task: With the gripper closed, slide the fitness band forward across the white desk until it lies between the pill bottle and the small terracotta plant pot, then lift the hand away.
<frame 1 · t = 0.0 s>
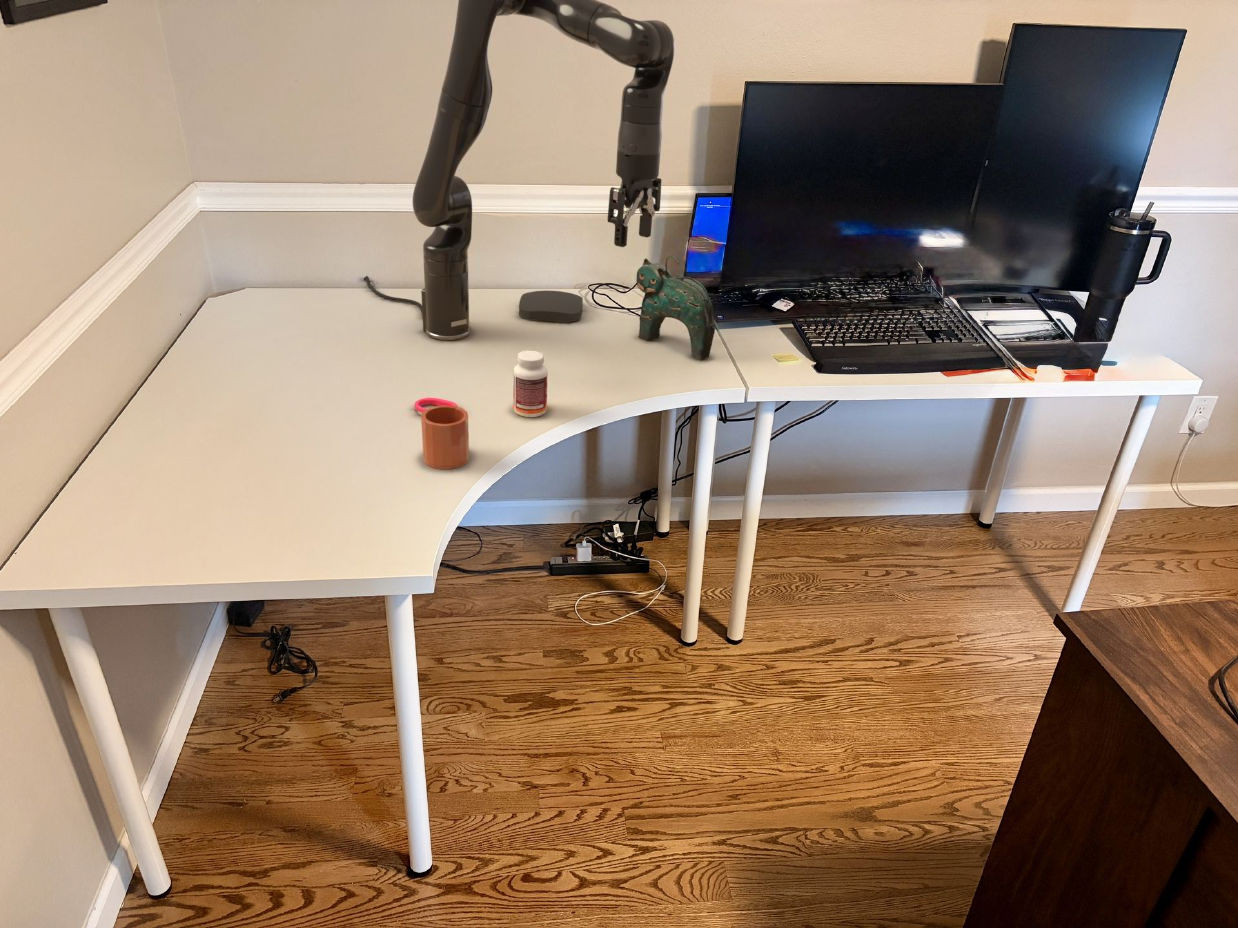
hand: (632, 241, 165), 29 cm above the table, tool pointing down, fingers open, 8 cm apart
pill bottle: (530, 411, 168), on the table
fitness band: (436, 412, 165), on the table
ceramic cat: (672, 347, 200), on the table
media streaming box: (551, 312, 214), on the table
clay pot: (446, 458, 150), on the table
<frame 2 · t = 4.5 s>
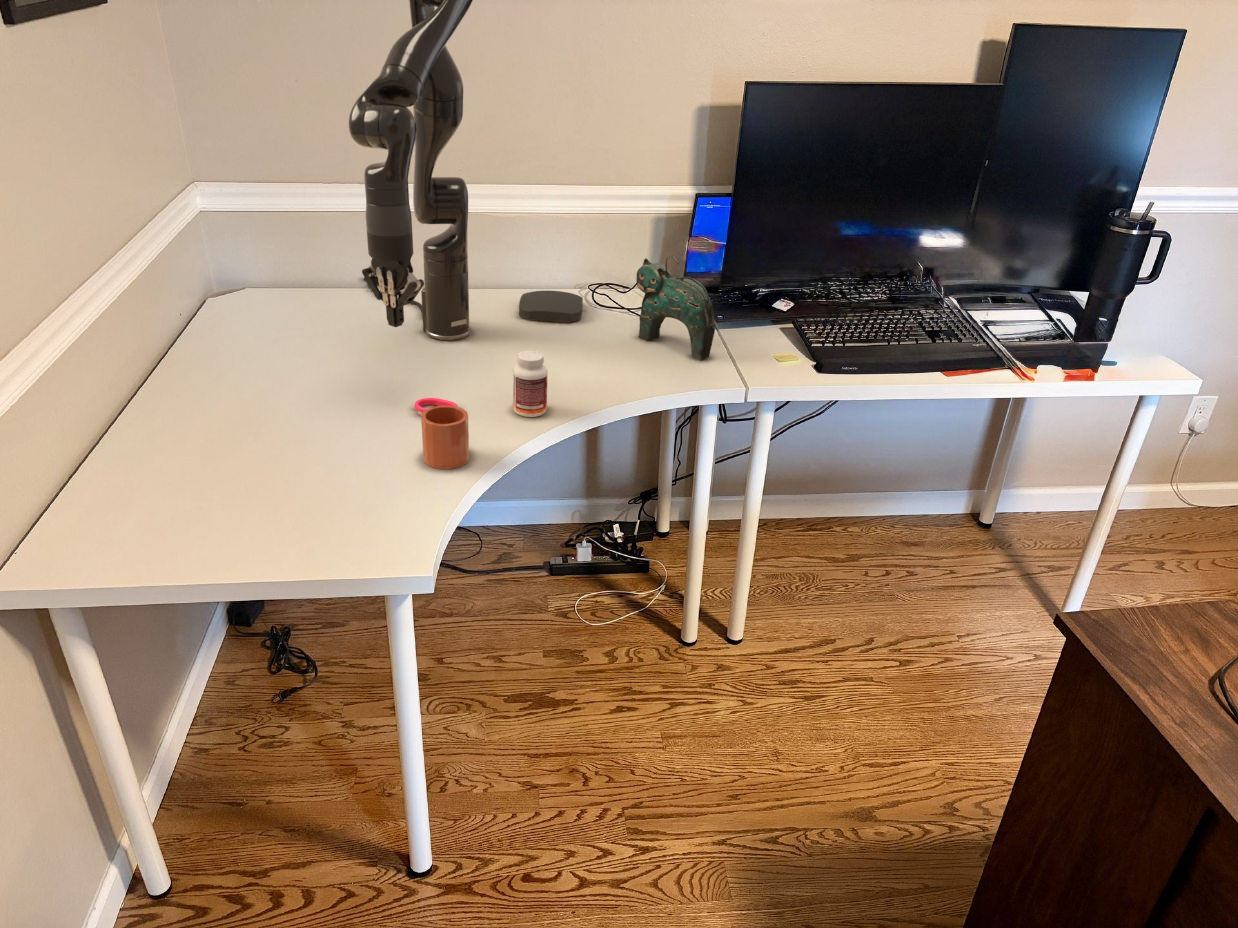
hand: (395, 325, 162), 14 cm above the table, tool pointing down, fingers closed
nothing on the table moved.
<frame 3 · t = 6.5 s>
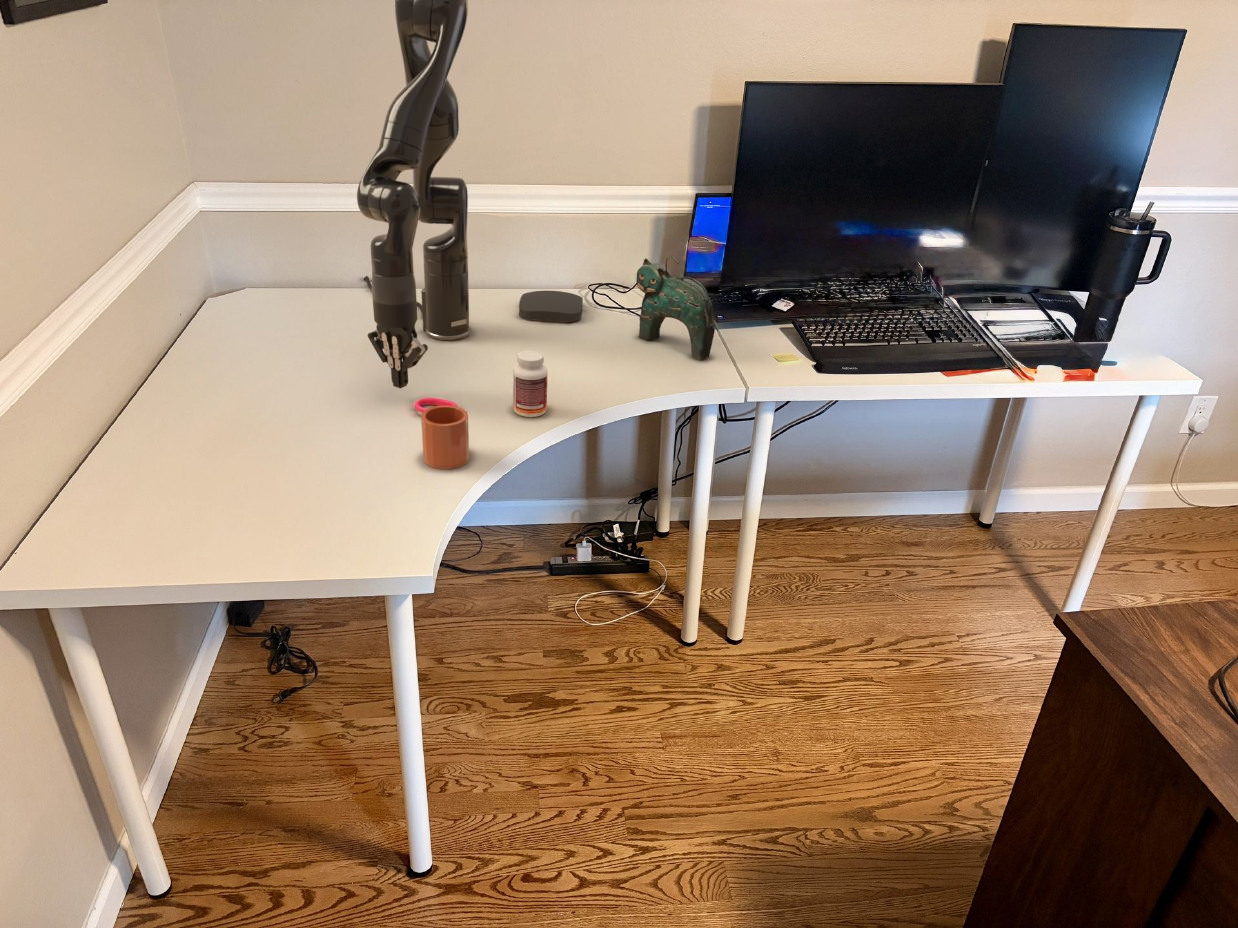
hand: (400, 386, 167), 3 cm above the table, tool pointing down, fingers closed
nothing on the table moved.
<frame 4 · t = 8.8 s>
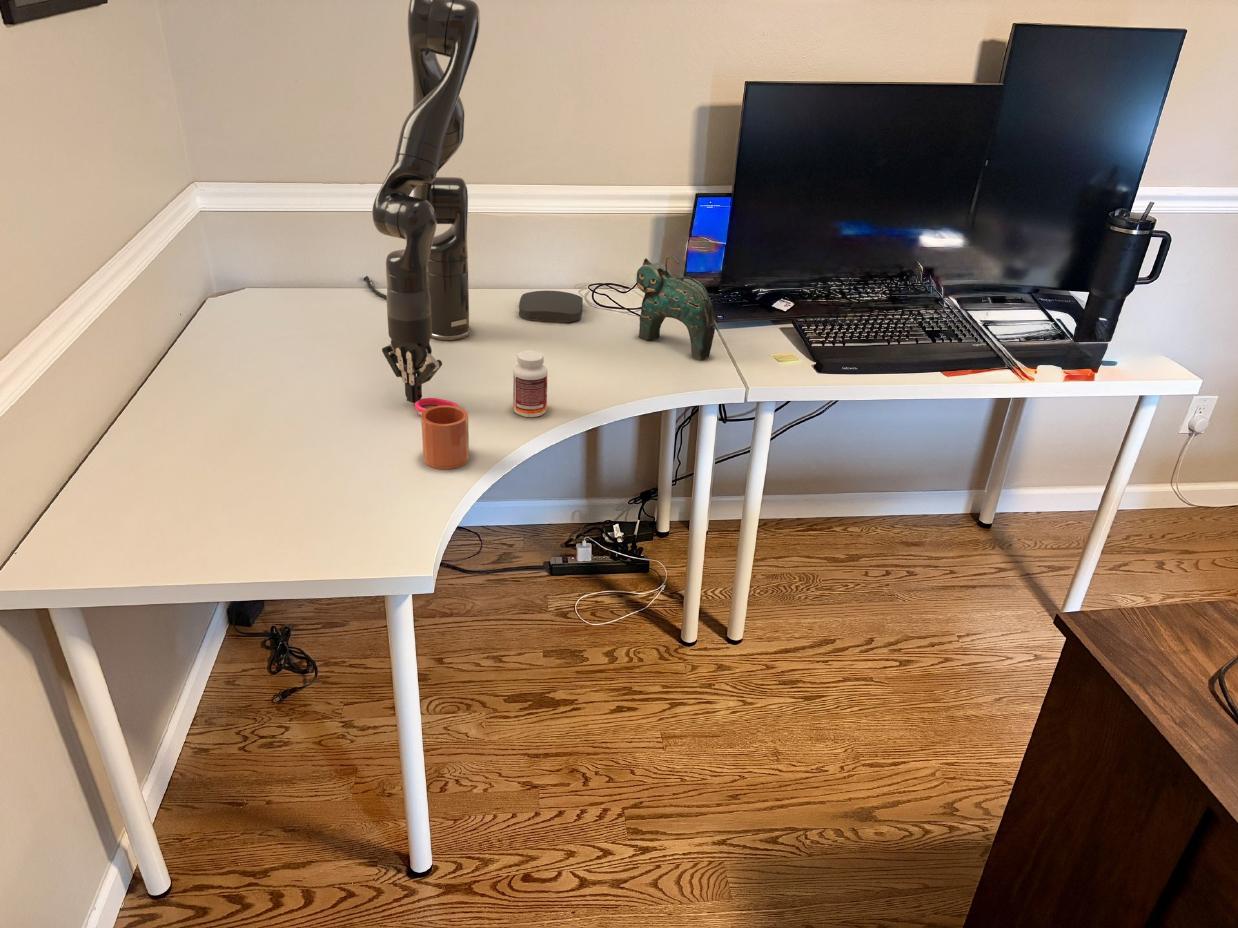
hand: (413, 400, 167), 1 cm above the table, tool pointing down, fingers closed
fitness band: (436, 412, 165), on the table, touching gripper
everything else where it was.
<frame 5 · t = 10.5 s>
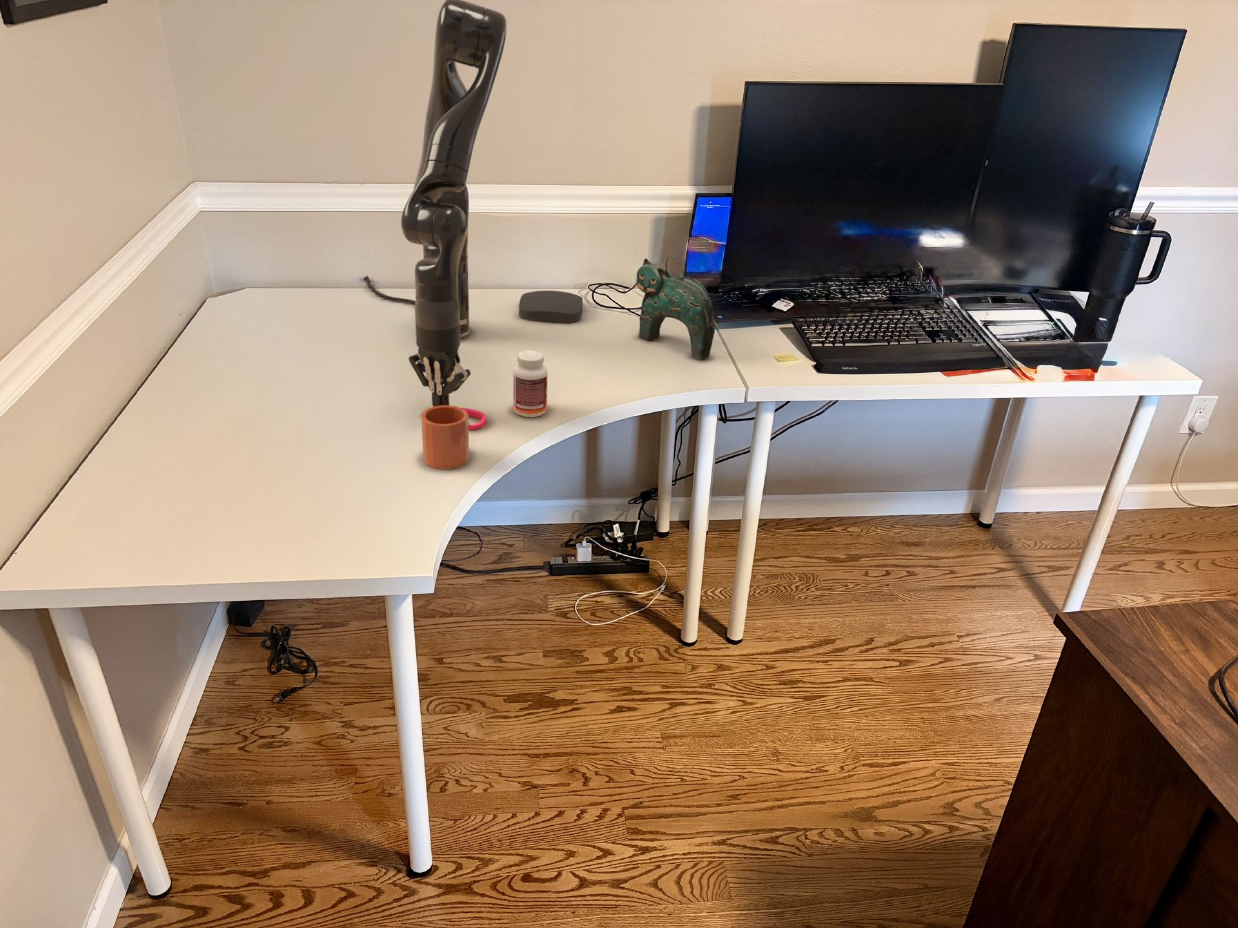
hand: (440, 410, 164), 1 cm above the table, tool pointing down, fingers closed
fitness band: (464, 422, 162), on the table, touching gripper
everything else where it was.
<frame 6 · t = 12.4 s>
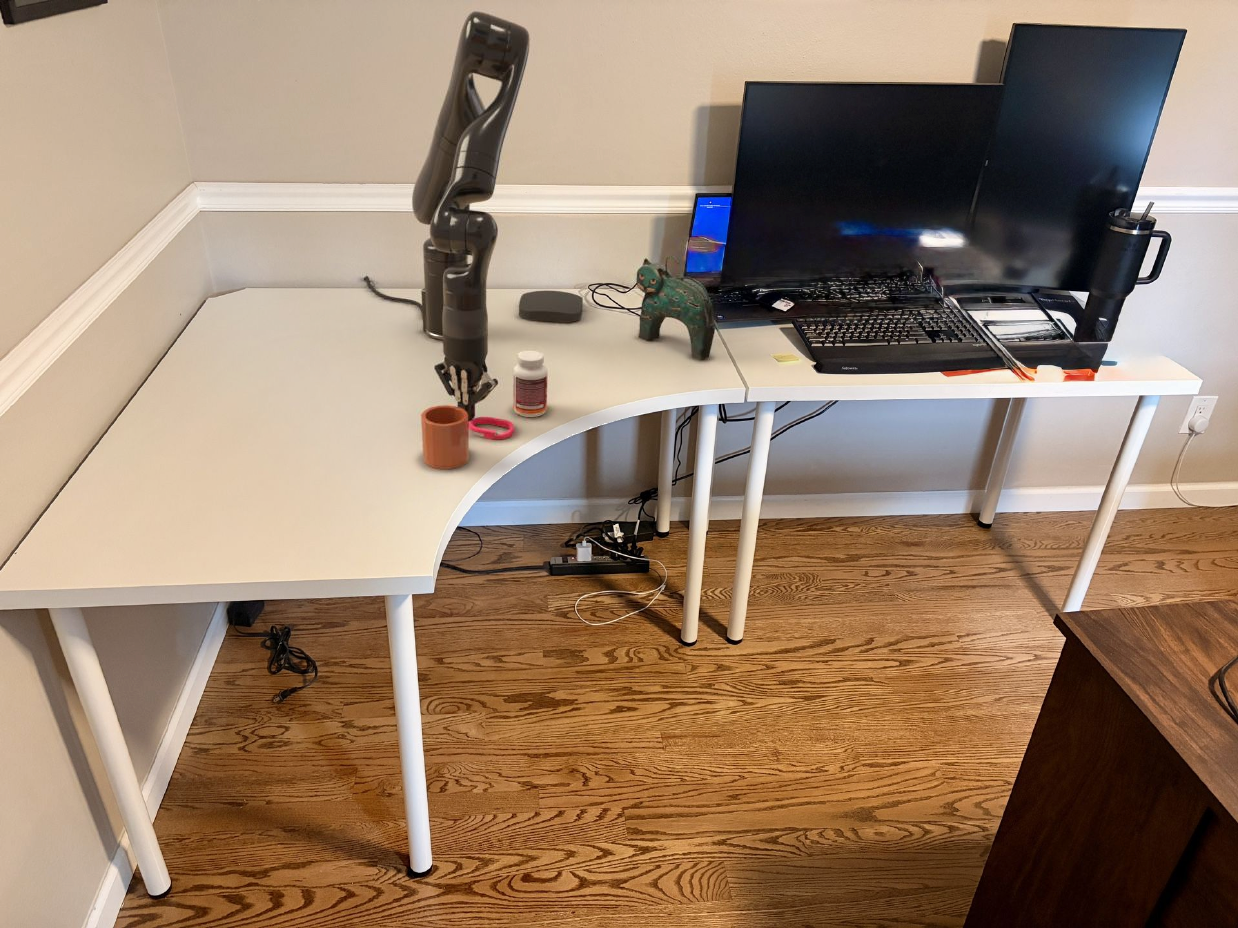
hand: (466, 419, 161), 1 cm above the table, tool pointing down, fingers closed
fitness band: (491, 432, 160), on the table, touching gripper
everything else where it was.
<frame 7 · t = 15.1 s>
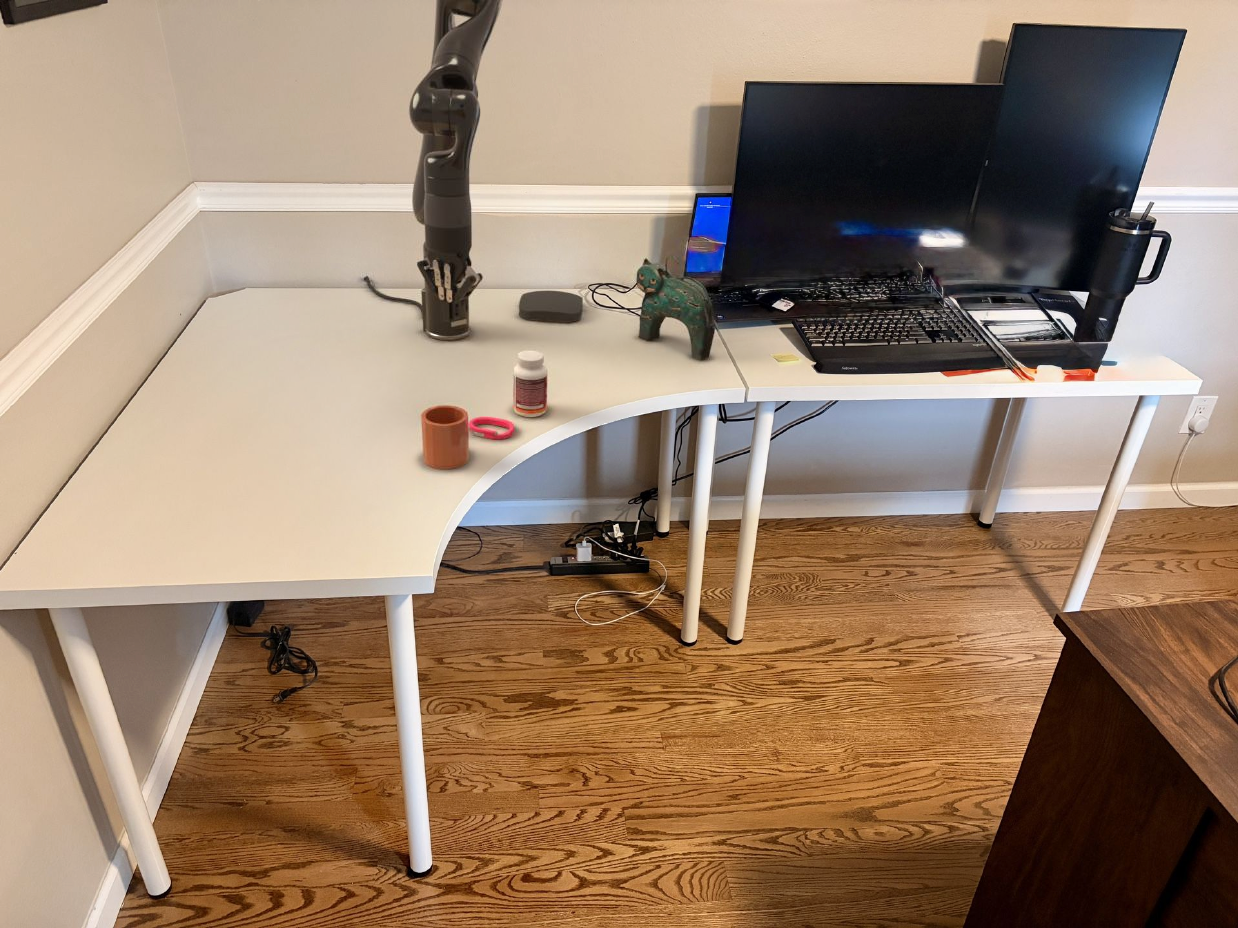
hand: (450, 320, 155), 18 cm above the table, tool pointing down, fingers closed
fitness band: (491, 432, 160), on the table
everything else where it was.
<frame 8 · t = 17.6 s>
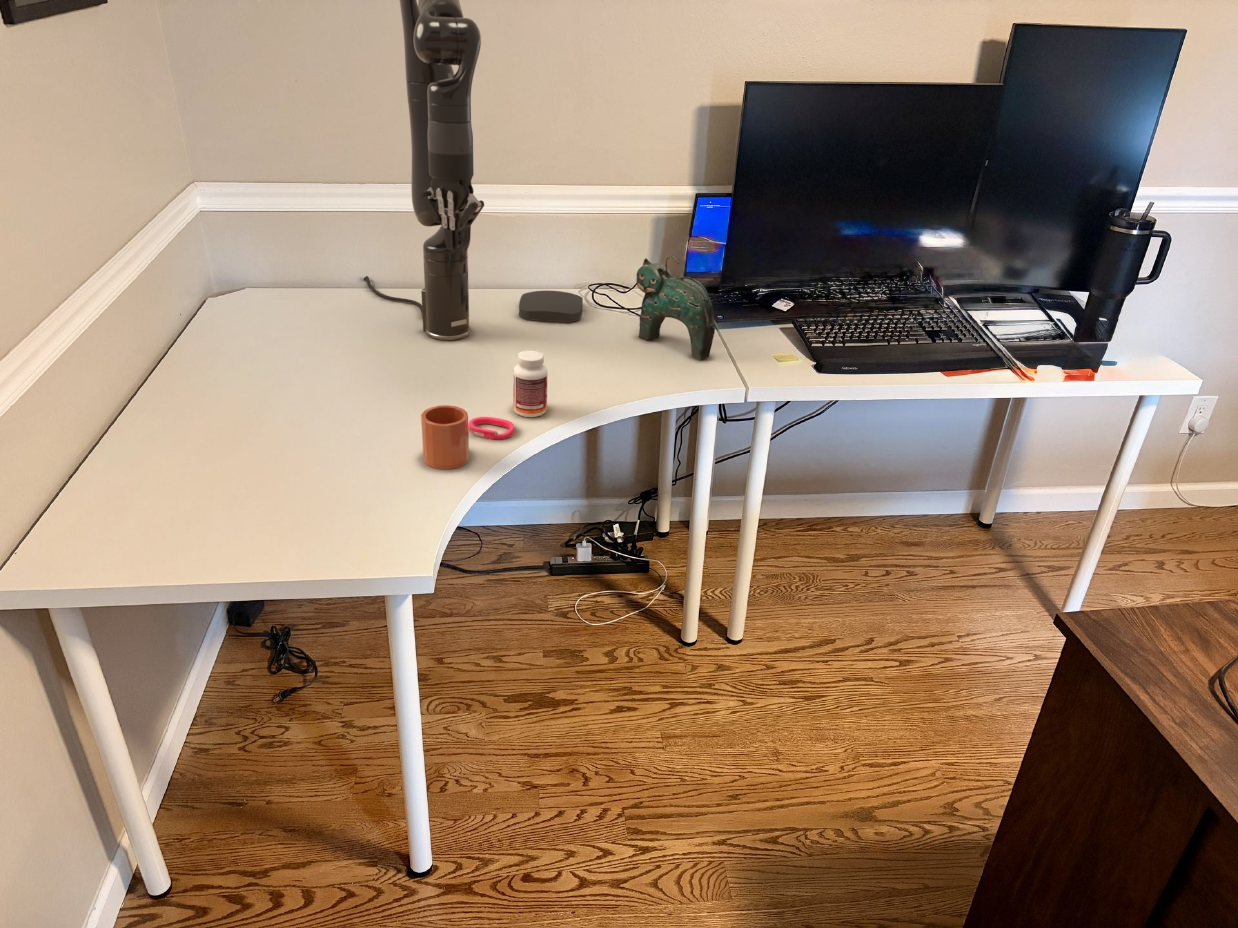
hand: (453, 249, 161), 27 cm above the table, tool pointing down, fingers closed
nothing on the table moved.
at the end: fitness band inside the target area (0.3 cm from its centre), on the table; pill bottle moved 0.2 cm from its start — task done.
